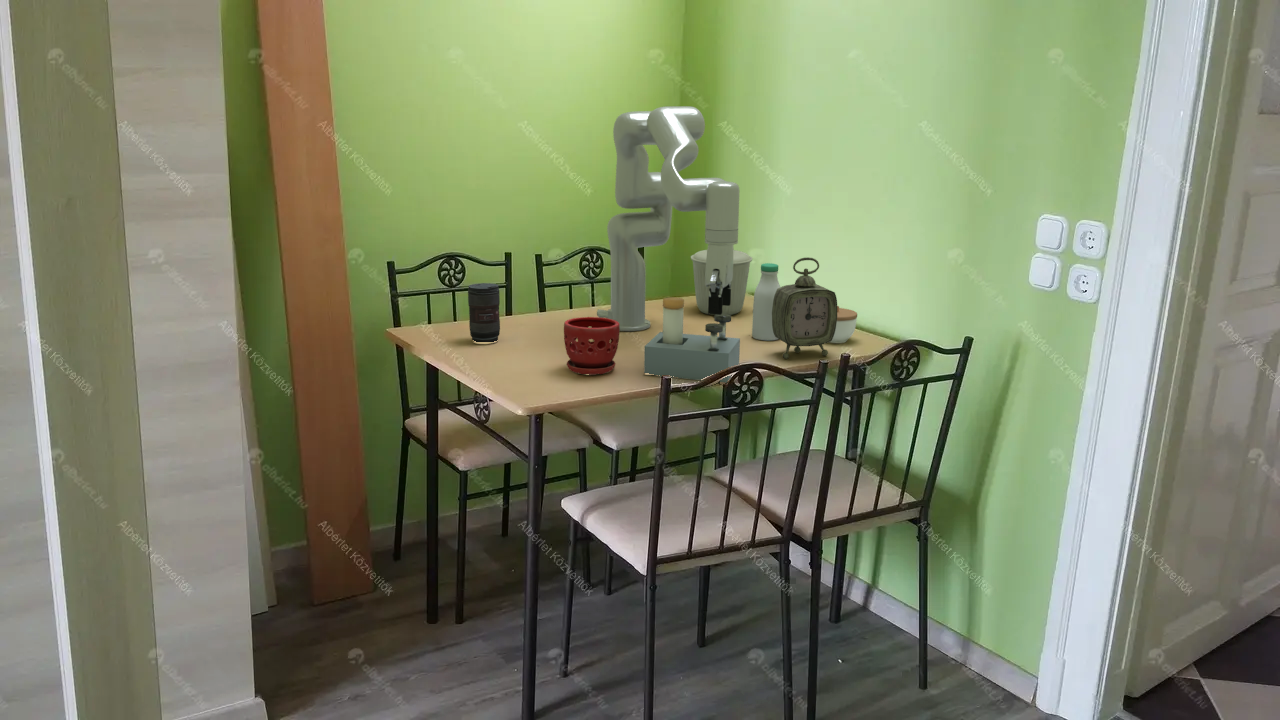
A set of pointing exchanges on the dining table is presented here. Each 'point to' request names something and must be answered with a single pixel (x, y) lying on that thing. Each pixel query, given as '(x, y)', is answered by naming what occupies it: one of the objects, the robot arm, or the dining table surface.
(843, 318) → the lidded jar
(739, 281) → the canister
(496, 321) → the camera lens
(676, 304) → the cylinder
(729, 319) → the plunger
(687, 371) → the housing
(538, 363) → the dining table surface
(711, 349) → the plunger
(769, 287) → the milk bottle
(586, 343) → the plant pot
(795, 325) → the tabletop clock
